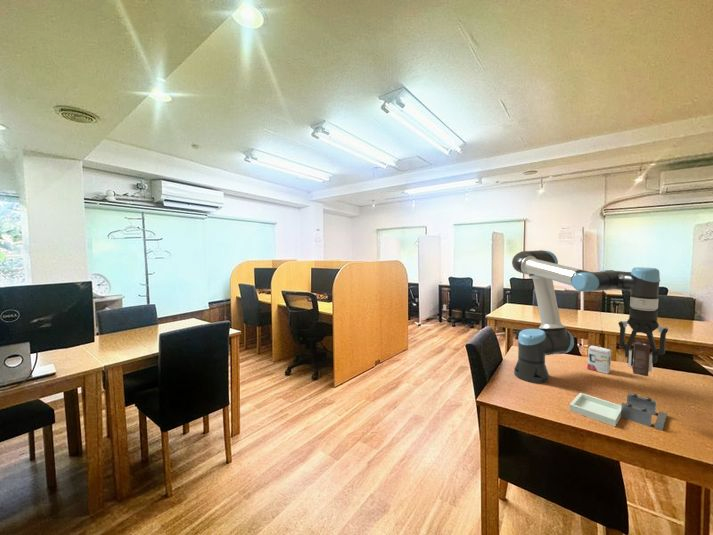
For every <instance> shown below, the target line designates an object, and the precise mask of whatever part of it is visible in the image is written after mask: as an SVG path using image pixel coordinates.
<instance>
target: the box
mask: <svg viewBox="0 0 713 535" xmlns="http://www.w3.org/2000/svg"><path fill="white" fill-rule="evenodd" d="M632 346H633V348H632V349H633V360H632V366H631V369H632V374H635V375H638V376H643V377H649V354H650V353H651V352H650V351H651V347H650V344H649V340H641V339H635V338H634V341H633V343H632Z"/></svg>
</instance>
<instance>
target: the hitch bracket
mask: <svg viewBox="0 0 713 535" xmlns="http://www.w3.org/2000/svg"><path fill="white" fill-rule="evenodd" d="M620 405H621V418H623V419H626V420H629V421H633V422H635V423H639V424H641V425H643V426H644V425H645V426H647V427H651V426H652V418H653V417H652V416H655V415H656V414H657V413H656V411H657V410H656V409H657V400H655V399H652V398H651V397H643V396H640V395H638V394H637V393H634V392H633V393H630V392H628V393H627V396H626V402H622V403H621V404H620ZM667 417H668V413H665V412H663V411H660V410H659V411H658V414H657V417H656V420H655V422H654V429H655V430H659V431H663V430H664V426H665V424H666V420H667Z"/></svg>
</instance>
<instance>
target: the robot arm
mask: <svg viewBox="0 0 713 535" xmlns="http://www.w3.org/2000/svg"><path fill="white" fill-rule="evenodd" d="M511 265H512V268H513V269H514V270H515V271H516V272H518V273H521V274H523V275H527V276H528V277H529V278H531V279H532V280H533V287H534V293H535V296H536V298H535V299H536V302H537V307H538V313H539V318H540V319H539V320H540V326H538V328H525V329H522V330H520V331H519V332H518V338H517V341H518V342H517V343H518V344H517V345H518V348H517V349H518V351H517V352H518V354H517V355H518V357H517V361H516V362H515V363H516V364H515V366H514V368H513V371H514V372H513V374H514V376H515V377H517V378H518V379H520V380H522V381H525V382H529V383H535V384H543V383H547V382H548V381H550V380H549V379H550V374H549V371H548V369H547V366H546V356H552V355H562V354H566V353H567V354H568V353H569V352H571V351H572V349H573V348H574V345H575V339H574V337H573V335H572V334H571V332H570V331H569V330H567V329H566V326H565V325H564V324H562V321H561V316H560V311H559V308H558V301H557V297H556V292H555V286H554V282H558V283H561V284H565V285H568V286H571V287H573V288H574V289H575V291H578V292H587V293H588V292H589V293H590V292H599V291H611V290H615V291H616V290H617V291H627V292H630V298H629V299H630V300H629V307H630V308H629V315H628V319H627V320H625V321H624V320H620V321H618V326H619V343H618V345H619V347H620V348H624V349H625V350H624V353H625V354H624V355H625V358H628V362H627V364H628V365H627V366H628V367H629V368H632V360H633V348H632V346H633V344H634V339H635V338H636V336H637V334H644V335H645V334H646V337H647V339H648V340H647V341H648V343H649V345H650V351H651V352H650V353H649V371H648V373H652V371H653V368H654V367H653V366H654V365H653V364H657V362H658V355H659V356H660V355H661V356H663V355H664V354H665V353H666V338H667V333H668V332H669V327H664V326H662V325H659V324H660V323H659V322H658V315H659V314H658V313H659V312H658V309H659V290H660V282H661V277H660V273H661V272H660V270H659V269H658V268H656V267H643V266H642V267H633V268H632V269H631V271H622V270H620V271H619V270H613V269H609V270H608V269H606V270H605V269H604V270H600V271H588V270H583V269H579V268H576V267H572V266H567V265H564V264H563V265H562V264H559V261H558V258H557V256H556V254H555V253H553V252H551V251H550V250H543V249H541V250H540V249H539V250H524V251H523V250H522V251H520V252H517V253H516V254H515V255H514V256H513V257H512V260H511ZM628 326H629V327H630V328H631V329H632V331H631V334H630V336H629V338H628V340H627V342H626V343H625V341H626V327H628ZM657 329H658V332H659V333H660V335H659V336H660V337H659V350H658V348H657V345H656V341H655V337H654V334H653V332H654V331H656V330H657Z"/></svg>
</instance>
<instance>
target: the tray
mask: <svg viewBox="0 0 713 535" xmlns="http://www.w3.org/2000/svg"><path fill="white" fill-rule="evenodd" d="M568 409H569V411H570V412H573V413H575V414H578V415H581V416H584V417H587V418H589V419H592V420H594V421H597V422H600V423H604V424H606V425H608V424H609V426H611V425H612V427H614V426H617V425H618V423H619V421H620V420H621V418H622V417H621V404H619V403H614V402H611V401H608V400H605V399H602V398H599V397H595V396H592V395H589V394H587V393H584V392H583V393H582V392H579V393H578V394H577V395H576V397H574V399H573V400H572V401H570V403H569V408H568ZM616 424H617V425H616Z"/></svg>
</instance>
